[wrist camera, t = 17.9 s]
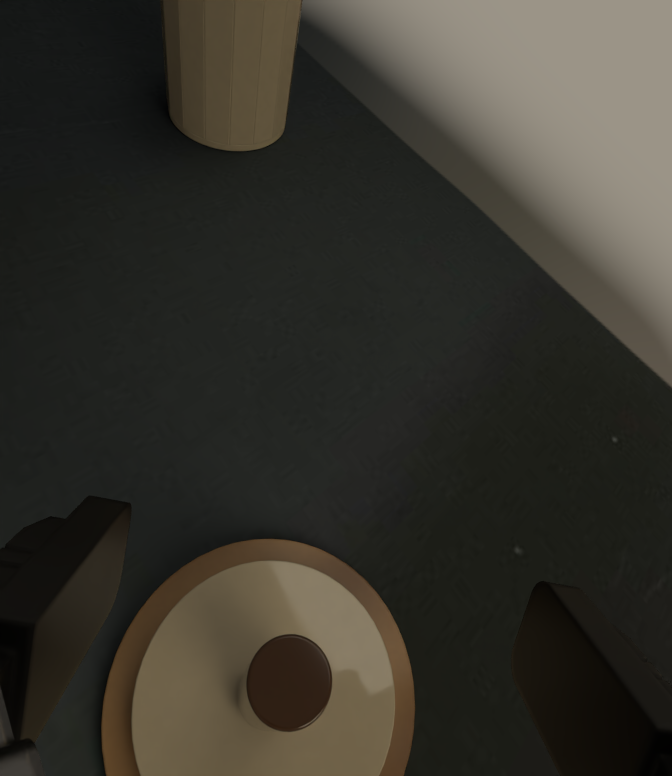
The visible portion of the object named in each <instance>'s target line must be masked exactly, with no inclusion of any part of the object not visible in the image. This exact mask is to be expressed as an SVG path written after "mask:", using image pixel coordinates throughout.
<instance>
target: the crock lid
mask: <svg viewBox="0 0 672 776" xmlns="http://www.w3.org/2000/svg"><path fill="white" fill-rule="evenodd" d="M394 717H395V687H394V680H393V673H392V667H391V663H390V660H389V656H388V652H387V649H386V647H385V644H384V642H383V639H382V636H381V634H380V632H379V630H378V629H377V627H376V625H375V623H374V621H373V619H372V618H371V616H370V615H369V614H368V612H367V611H366V609H365V608H364V606H363V605H362V604H361V603H360V602H359V601H358V600H357V598H356V597H355V596H354V595H353V594H352V593H351V592H349V591H348V590H347V589H346V588H345V587H344V586H343V585H342V584H340V583H339V582H337V581H336V580H334V579H333V578H331V577H330V576H328V575H326V574H324V573H322V572H320V571H318V570H316V569H314V568H311V567H308V566H305V565H302V564H298V563H293V562H288V561H277V560H265V561H254V562H249V563H244V564H240V565H237V566H234V567H231V568H228V569H225V570H223V571H221V572H219V573H217V574H215V575H213V576H211V577H209V578H208V579H206V580H204V581H203V582H201V583H200V584H198V585H197V586H196V587H194V588H193V589H192V590H191V591H190V592H188V593H187V594H186V595H185V596H184V597H183V598H182V599H181V600H180V601H179V602H178V603H177V604H176V605H175V606H174V607H173V608H172V609H171V610H170V612H169V613H168V614H167V616H166V617H165V618H164V620H163V621H162V622H161V624H160V625H159V627H158V629H157V630H156V632H155V634H154V635H153V637H152V639H151V641H150V643H149V645H148V647H147V649H146V652H145V654H144V656H143V658H142V661H141V665H140V668H139V671H138V674H137V677H136V682H135V688H134V693H133V698H132V711H131V730H132V743H133V749H134V754H135V760H136V764H137V767H138V770H139V773H140V776H379V775H380V773H381V771H382V768H383V766H384V764H385V760H386V757H387V754H388V751H389V747H390V743H391V738H392V733H393V727H394Z"/></svg>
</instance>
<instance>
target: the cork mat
mask: <svg viewBox="0 0 672 776" xmlns="http://www.w3.org/2000/svg"><path fill="white" fill-rule="evenodd" d="M265 560H277V561H288V562H293V563H298V564H302V565H305V566H308V567H311V568H314V569H316V570H318V571H320V572H322V573H324V574H326V575H328V576H330V577H331V578H333V579H334V580H336V581H337V582H339V583H340V584H342V585H343V586H344V587H345V588H346V589H347V590H348V591H349V592H351V593H352V594H353V595H354V596H355V597H356V598H357V600H358V601H359V602H360V603H361V604H362V605H363V606H364V608H365V609H366V611H367V612H368V614H369V615H370V616H371V618H372V619H373V621H374V623H375V625H376V627H377V629H378V630H379V632H380V634H381V636H382V639H383V642H384V644H385V647H386V649H387V652H388V656H389V660H390V663H391V667H392V673H393V680H394V687H395V717H394V727H393V733H392V738H391V743H390V747H389V751H388V754H387V757H386V760H385V764H384V766H383V768H382V771H381V773H380V775H379V776H404V772H405V769H406V765H407V762H408V758H409V755H410V750H411V744H412V738H413V732H414V717H415V699H414V684H413V678H412V671H411V665H410V661H409V658H408V654H407V651H406V647H405V644H404V641H403V639H402V636H401V634H400V631H399V629H398V626H397V624H396V622H395V621H394V619H393V617H392V615H391V613H390V611H389V609H388V608H387V606H386V605H385V603H384V602H383V601H382V599H381V598H380V596H379V595H378V593H377V592H376V591H375V590H374V589H373V588H372V587H371V586H370V584H369V583H368V582H367V581H366V580H365V579H364V578H363V577H362V576H361V575H359V574H358V573H357V572H356V571H355V570H354V569H353V568H351V567H350V566H349V565H347V564H346V563H344V562H343V561H341V560H340V559H338V558H337V557H335V556H333V555H331V554H329V553H327V552H325V551H323V550H321V549H318V548H316V547H313V546H310V545H307V544H304V543H299V542H295V541H290V540H281V539H253V540H247V541H242V542H236V543H232V544H229V545H226V546H223V547H220V548H217V549H214V550H212V551H210V552H208V553H206V554H204V555H201V556H199V557H198V558H196V559H194V560H193V561H191V562H190V563H188V564H186V565H185V566H183V567H182V568H180V569H179V570H178V571H177V572H175V573H174V574H173V575H172V576H170V577H169V578H168V579H167V580H166V581H165V582H164V583H163V584H162V585H161V586H160V587H159V588H158V589H157V590H156V591H155V592H154V593H153V594H152V595H151V596H150V597H149V599H148V600H147V601H146V602H145V604H144V605H143V606H142V608H141V609H140V610H139V611H138V613H137V614H136V616H135V618H134V619H133V621H132V623H131V624H130V626H129V627H128V629H127V631H126V633H125V635H124V637H123V639H122V641H121V643H120V645H119V648H118V650H117V652H116V655H115V658H114V660H113V663H112V666H111V669H110V672H109V675H108V680H107V685H106V689H105V694H104V699H103V709H102V720H101V739H102V754H103V760H104V767H105V773H106V776H140V773H139V770H138V767H137V764H136V760H135V754H134V749H133V743H132V730H131V711H132V698H133V693H134V688H135V682H136V677H137V674H138V671H139V668H140V665H141V661H142V658H143V656H144V654H145V652H146V649H147V647H148V645H149V643H150V641H151V639H152V637H153V635H154V634H155V632H156V630H157V629H158V627H159V625H160V624H161V622H162V621H163V620H164V618H165V617H166V616H167V614H168V613H169V612H170V610H171V609H172V608H173V607H174V606H175V605H176V604H177V603H178V602H179V601H180V600H181V599H182V598H183V597H184V596H185V595H186V594H187V593H188V592H190V591H191V590H192V589H193V588H194V587H196V586H197V585H198V584H200V583H201V582H203V581H204V580H206V579H208V578H209V577H211V576H213V575H215V574H217V573H219V572H221V571H223V570H225V569H228V568H231V567H234V566H237V565H240V564H244V563H249V562H254V561H265Z"/></svg>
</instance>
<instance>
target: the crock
mask: <svg viewBox="0 0 672 776" xmlns="http://www.w3.org/2000/svg"><path fill="white" fill-rule="evenodd" d="M160 3H161V19H162V34H163V50H164V65H165V81H166V96H167V103H168V111H169V115H170V118H171V120H172V122H173V123H174V125H175V126H176V127H177V128H178V129H179V130H180V131H181V132H182V133H183V134H185V135H186V136H187V137H189V138H191V139H192V140H194V141H196V142H198V143H201V144H203V145H206V146H209V147H212V148H216V149H221V150H228V151H250V150H256V149H260V148H263V147H266V146H268V145H270V144H272V143H274V142H275V141H276V140H278V139H279V138H280V136H281V135H282V134H283V132H284V129H285V125H286V119H287V115H288V107H289V99H290V92H291V84H292V76H293V69H294V61H295V53H296V46H297V38H298V30H299V23H300V15H301V7H302V0H160Z"/></svg>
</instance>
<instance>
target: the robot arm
mask: <svg viewBox="0 0 672 776" xmlns="http://www.w3.org/2000/svg"><path fill="white" fill-rule="evenodd" d="M130 519H131V504H130V503H127V502H122V501H117V500H111V499H106V498H101V497H95V496H88V497H86V498H85V499H84V500H83V502H82V503H81V504H80V505H79V506H78V507H77V508H76V509H75V510H74V511H73V512H72V513H71V514H70V515H69V516H68V517H67V518H66V519H63V518H57V517H52V516H50V517H48V518H46V519H43V520H41V521H39V522H36V523H34V524H32V525H29V526H27V527H25V528H23V529H22V530H21V531H20V532H19V533H18V534H17V535H15V536H14V537H13V538H12V539H11V540H10V541H9V542H8V543H7V544H6V546H5V548H1V549H0V776H45V773H44V770H43V766H42V763H41V760H40V757H39V754H38V751H37V748H36V746H35V744H34V743H35V741H36V740H37V738H38V736H39V735H40V733H41V731H42V729H43V728H44V726H45V724H46V722H47V721H48V719H49V717H50V715H51V714H52V712H53V710H54V708H55V707H56V705H57V703H58V702H59V700H60V698H61V696H62V695H63V693H64V691H65V689H66V688H67V686H68V684H69V682H70V681H71V679H72V677H73V675H74V674H75V672H76V670H77V669H78V667H79V665H80V663H81V662H82V660H83V658H84V656H85V655H86V653H87V651H88V649H89V648H90V646H91V644H92V642H93V641H94V639H95V637H96V636H97V634H98V632H99V630H100V629H101V627H102V625H103V623H104V622H105V620H106V618H107V616H108V615H109V613H110V611H111V609H112V606H113V604H114V601H115V598H116V595H117V592H118V588H119V584H120V580H121V574H122V568H123V562H124V556H125V550H126V544H127V538H128V531H129V525H130ZM511 669H512V675H513V679H514V682H515V685H516V687H517V689H518V691H519V693H520V695H521V697H522V699H523V701H524V703H525V705H526V707H527V709H528V711H529V713H530V715H531V717H532V719H533V722H534V724H535V726H536V728H537V730H538V732H539V734H540V736H541V738H542V740H543V742H544V744H545V746H546V748H547V750H548V752H549V754H550V756H551V758H552V760H553V762H554V764H555V766H556V768H557V770H558V772H559V775H560V776H672V687H671V686H670V684H669V683H668V682H667V681H664V680H662V675H661V674H660V673H659V672H658V670H657V669H656V668H655V667H654V666H653V665H652V663H649V662H647V658H646V656H645V655H644V654H643V653H642V652H641V651H640V649H639V648H638V647H637V646H636V645H635V644H634V643H633V641H632V640H631V639H630V638H629V637H628V636H626V635H625V634H624V633H623V632H621V631H620V630H619V629H617V628H616V627H615V626H614V625H612V624H611V623H610V622H609V621H608V620H607V619H606V618H605V617H604V615H603V614H602V613H601V612H600V611H599V609H598V608H597V607H596V606H595V605H594V603H593V602H592V601H591V600H590V599H589V598H588V596H587V595H586V594H585V593H584V592H583V591H582V590H581V589H580V588H576V587H571V586H566V585H560V584H555V583H550V582H544V581H541V582H539V583H537V584H536V586H535V587H534V589H533V591H532V593H531V596H530V599H529V602H528V605H527V608H526V611H525V614H524V617H523V620H522V623H521V626H520V628H519V631H518V634H517V637H516V640H515V643H514V646H513V650H512V657H511Z"/></svg>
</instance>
